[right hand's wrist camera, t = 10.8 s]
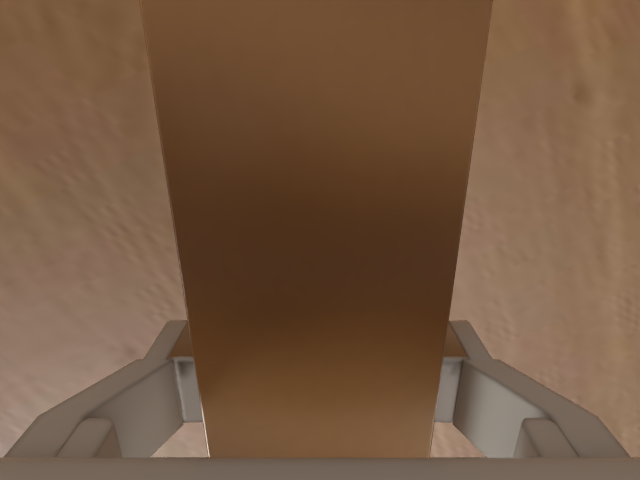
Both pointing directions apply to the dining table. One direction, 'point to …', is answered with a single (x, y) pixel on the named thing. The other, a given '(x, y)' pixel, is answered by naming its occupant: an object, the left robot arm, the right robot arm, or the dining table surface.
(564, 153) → the dining table surface
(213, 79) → the beam
